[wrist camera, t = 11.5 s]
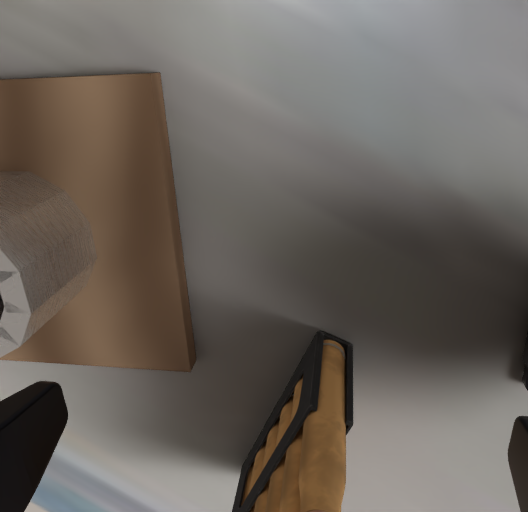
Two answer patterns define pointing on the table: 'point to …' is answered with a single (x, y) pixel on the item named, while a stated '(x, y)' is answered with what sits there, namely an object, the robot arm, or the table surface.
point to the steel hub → (38, 254)
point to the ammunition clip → (304, 437)
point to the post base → (107, 216)
